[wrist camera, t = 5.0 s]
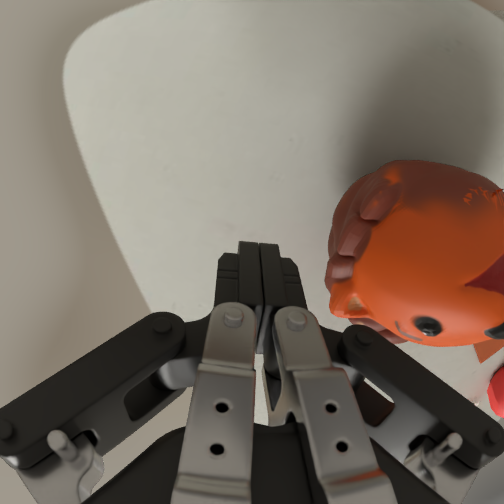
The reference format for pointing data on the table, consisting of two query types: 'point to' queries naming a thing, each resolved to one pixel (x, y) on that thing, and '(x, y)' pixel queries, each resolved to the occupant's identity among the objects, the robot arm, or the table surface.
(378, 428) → the robot arm
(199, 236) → the table surface
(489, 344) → the book
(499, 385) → the apple
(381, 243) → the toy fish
